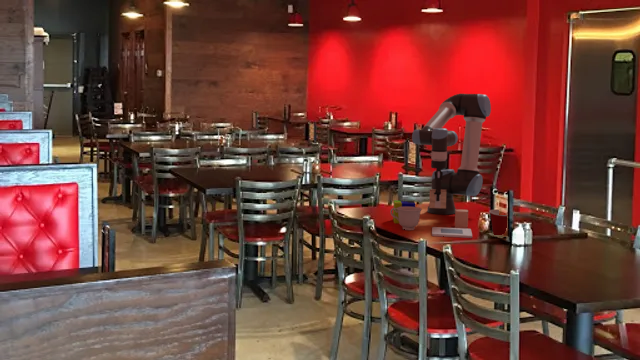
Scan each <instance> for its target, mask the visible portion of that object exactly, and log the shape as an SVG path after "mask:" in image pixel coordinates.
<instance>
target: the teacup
mask: <svg viewBox="0 0 640 360" xmlns="http://www.w3.org/2000/svg"><path fill="white" fill-rule="evenodd" d="M393 210H395V211H396V213H397V212H398V216H399V218H398V217H396V216H394V215H393ZM397 210H398V211H397ZM397 210H396V208H394V207H392V208H391V209H390V215H391V217H392V218H393V217H394V218H396V219H398V221H399V223H398V224H399V225H400V226H401V227H402V228H401V229H402V230H404V229H405V231H414V230H415V227H417V226H418V225H419V222H420V215H421V212H422V210H423V209H422V208H421V207H418V206H415V207H397Z"/></svg>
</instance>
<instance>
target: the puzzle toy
mask: <svg viewBox="0 0 640 360" xmlns="http://www.w3.org/2000/svg"><path fill="white" fill-rule="evenodd" d="M397 207H416V202H415V201H414V200H393V208H396V210H397ZM397 211H398V210H397ZM392 213H393V215H394V216H396V217H398V218H399V216H398V212H397V213H396V211H395V210H393V211H392ZM392 220H393V223H394V224H400V223H399V221H398V219H396V218H394V217H392Z"/></svg>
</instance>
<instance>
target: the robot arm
mask: <svg viewBox="0 0 640 360" xmlns="http://www.w3.org/2000/svg"><path fill="white" fill-rule="evenodd" d="M491 107H492V105H491V100H490V98H489V96H488V95H487V94H482V93H456V94H454V95H451V96H450V97H448V98H447V99H444V101H443V102H441V104H440V105H439V107H438V110H437V111H436V112H435V114H434V115H433V116H432V117H431V118H430V119H429V120H428V121H427V122H426V123H425V125H424V126H423V127H422V128H421V129H414V130H413V132H412V135H411V140H412V143H413V144H414V145H419V146H420V145H421V146H431V152H430V156H431V162H430V167H431V169H436V170H434V171H433V172H432V175H431V189H436V192H435V193H434V194H435V208H429V205H428V206H427V210H426V211H427V213H429V214H433V215H434V214H435V215H453V214H454V215H455V209H457V208H456V205H455V202H454V195H458V196H468V197H472V196H473V197H476V196H478V194H479V193H480V192H481V189H482V187H483V181H484V179H483V175H482V174H480V170H479V169H478V164H479V155H480V146H481V137H482V129H483V123H484V122H485V121H486V118H488V117H489V116H491V112H492V108H491ZM456 116H463V120H464V121H465V126H464V127H465V128H464V137H463V146H462V153H461V162H460V163H461V164H460V166H459V167H458V168H457V172H455V170H454V169H450V168H447V167H448V166H447V165H448V164H447V163H448V161H447V159H448V147H452V146H455V145H456V144H457V142H458V140H459V137H458V134H457V132H456V131H454V130H448V129H447V128H446V127H445V128H444V126H445V125H446V124H447V123H448V122H449V121H450V119H453V118H454V117H456ZM441 190H446V209H445V208H440V204H441Z"/></svg>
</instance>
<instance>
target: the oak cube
mask: <svg viewBox="0 0 640 360" xmlns="http://www.w3.org/2000/svg"><path fill="white" fill-rule="evenodd" d="M435 192H436V189H432V188H430V189H429V201H428V202H429V204H428V206H429V208H435V194H434V193H435ZM440 208H445V209H446V190H441V204H440Z"/></svg>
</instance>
